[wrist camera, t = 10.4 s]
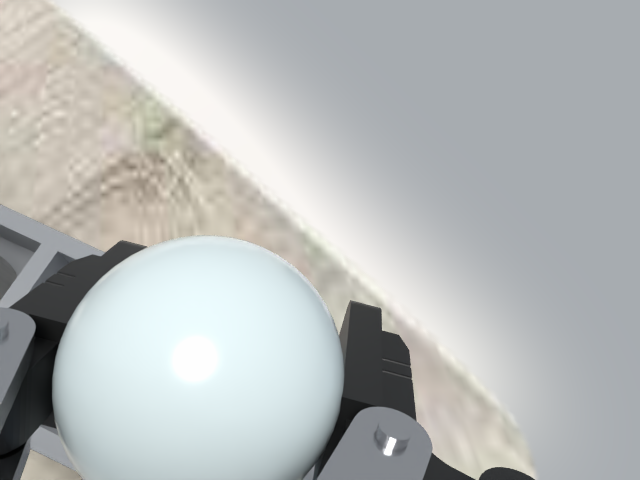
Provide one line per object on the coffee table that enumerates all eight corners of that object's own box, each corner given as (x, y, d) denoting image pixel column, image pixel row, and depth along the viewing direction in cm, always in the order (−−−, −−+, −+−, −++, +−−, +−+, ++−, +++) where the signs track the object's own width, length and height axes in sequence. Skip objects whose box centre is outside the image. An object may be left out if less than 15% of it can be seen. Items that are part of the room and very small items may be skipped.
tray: (-154, 342, 24) (-227, 320, 21) (-40, 203, 28) (-87, 164, 24) (282, 557, 23) (285, 575, 19) (351, 385, 26) (365, 372, 22)
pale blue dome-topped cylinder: (115, 455, 15) (-94, 444, 6) (197, 307, 16) (125, 137, 8) (267, 529, 14) (274, 629, 6) (334, 370, 16) (415, 265, 8)
